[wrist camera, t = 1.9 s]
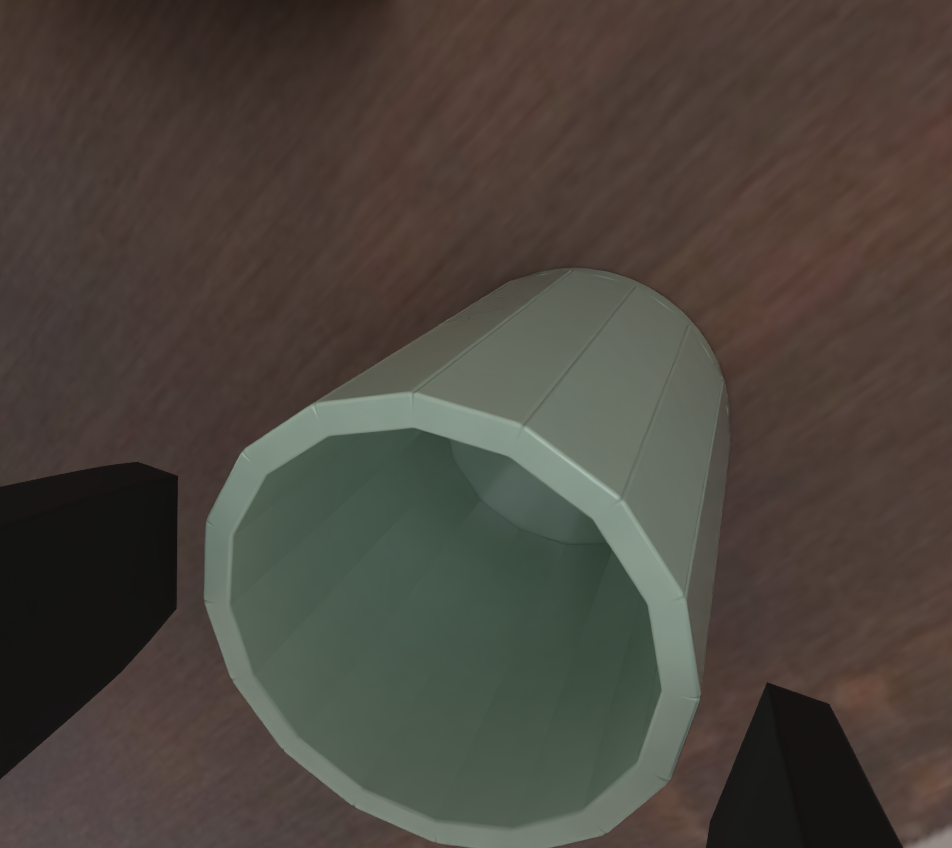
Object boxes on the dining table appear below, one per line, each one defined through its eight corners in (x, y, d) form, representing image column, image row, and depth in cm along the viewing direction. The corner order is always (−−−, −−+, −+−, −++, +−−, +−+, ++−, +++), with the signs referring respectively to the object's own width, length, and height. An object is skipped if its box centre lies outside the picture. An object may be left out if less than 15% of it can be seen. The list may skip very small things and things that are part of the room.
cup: (421, 497, 18) (197, 740, 11) (462, 236, 16) (208, 333, 9) (682, 583, 17) (618, 925, 10) (772, 309, 14) (774, 499, 7)
